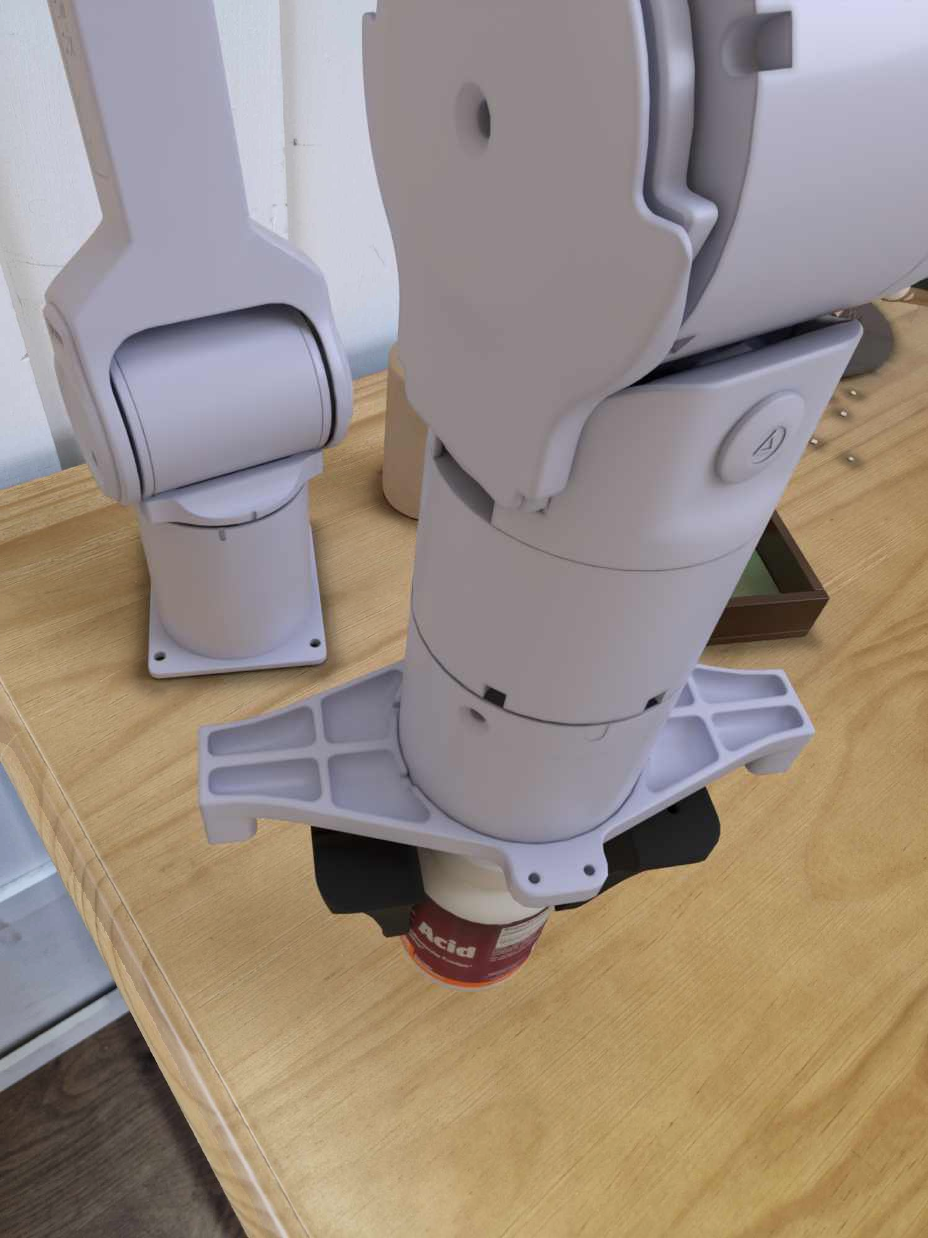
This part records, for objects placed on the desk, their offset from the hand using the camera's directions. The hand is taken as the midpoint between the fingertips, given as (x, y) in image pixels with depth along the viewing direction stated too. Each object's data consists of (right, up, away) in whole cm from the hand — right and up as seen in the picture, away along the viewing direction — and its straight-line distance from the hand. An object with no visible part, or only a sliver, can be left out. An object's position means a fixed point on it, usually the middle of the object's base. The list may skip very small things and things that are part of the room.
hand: (474, 892), depth 27 cm
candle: (-2, +16, +23) cm, 28 cm away
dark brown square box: (+13, +10, +20) cm, 26 cm away
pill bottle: (0, -2, +2) cm, 3 cm away
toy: (+24, +32, +40) cm, 57 cm away
